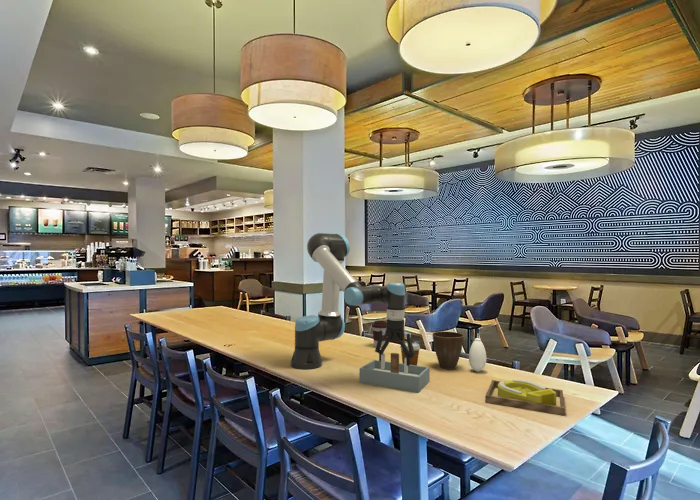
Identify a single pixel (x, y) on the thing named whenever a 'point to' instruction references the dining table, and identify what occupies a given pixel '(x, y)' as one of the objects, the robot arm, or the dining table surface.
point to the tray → (395, 376)
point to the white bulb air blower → (477, 355)
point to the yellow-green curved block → (526, 392)
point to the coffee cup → (376, 328)
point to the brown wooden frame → (525, 404)
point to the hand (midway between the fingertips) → (394, 371)
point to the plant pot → (448, 348)
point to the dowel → (395, 362)
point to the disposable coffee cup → (416, 350)
